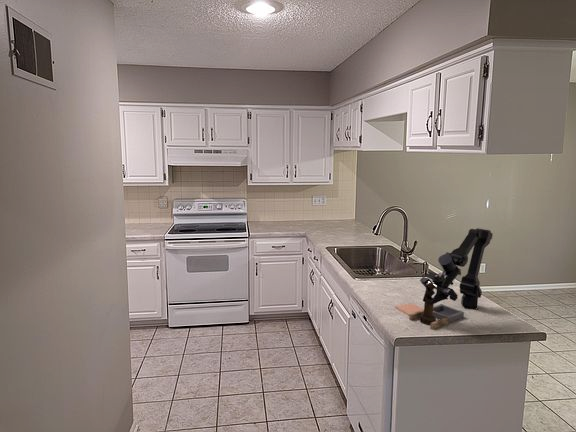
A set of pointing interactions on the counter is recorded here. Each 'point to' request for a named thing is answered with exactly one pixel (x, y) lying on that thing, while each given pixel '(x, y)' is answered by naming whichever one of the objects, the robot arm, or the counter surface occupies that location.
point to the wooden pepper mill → (428, 307)
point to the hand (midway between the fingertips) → (426, 302)
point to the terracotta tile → (409, 308)
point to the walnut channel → (433, 324)
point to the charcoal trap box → (447, 312)
